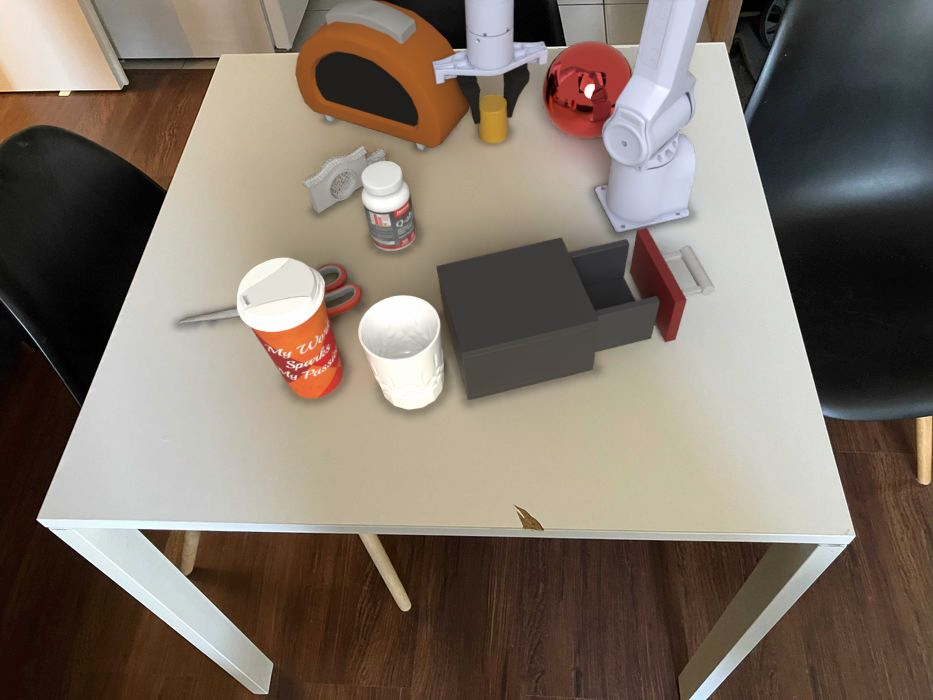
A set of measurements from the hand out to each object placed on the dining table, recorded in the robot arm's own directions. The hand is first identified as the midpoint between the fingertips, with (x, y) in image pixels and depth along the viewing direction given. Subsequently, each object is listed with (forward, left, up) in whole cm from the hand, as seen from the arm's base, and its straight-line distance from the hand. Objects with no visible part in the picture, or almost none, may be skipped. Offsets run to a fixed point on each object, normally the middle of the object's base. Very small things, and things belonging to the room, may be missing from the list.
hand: (491, 116), depth 98 cm
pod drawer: (-6, +36, -2) cm, 36 cm away
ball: (-12, +4, -3) cm, 13 cm away
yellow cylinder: (0, 0, -3) cm, 3 cm away
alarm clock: (+13, -8, -3) cm, 16 cm away
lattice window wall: (+21, +6, -3) cm, 22 cm away
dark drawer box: (+7, +36, -3) cm, 36 cm away
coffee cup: (+29, +34, -3) cm, 44 cm away
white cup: (+19, +38, -3) cm, 42 cm away
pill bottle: (+17, +16, -3) cm, 23 cm away
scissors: (+33, +24, -3) cm, 40 cm away
